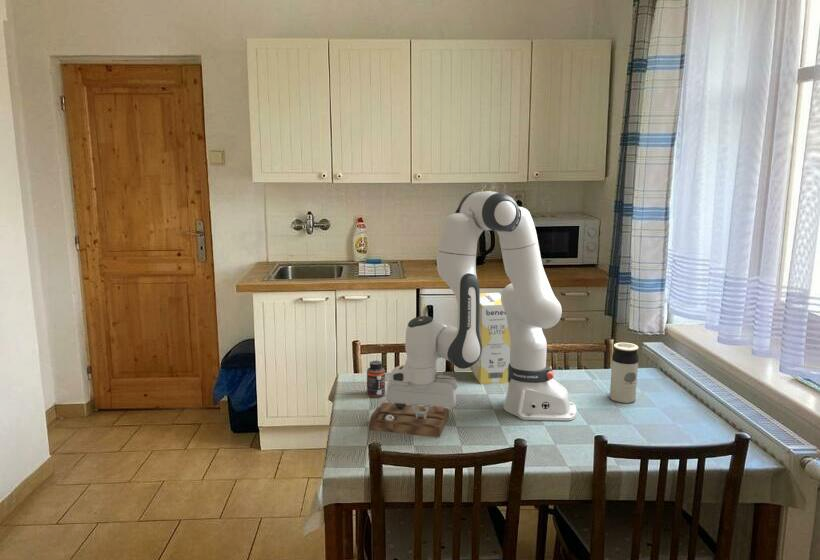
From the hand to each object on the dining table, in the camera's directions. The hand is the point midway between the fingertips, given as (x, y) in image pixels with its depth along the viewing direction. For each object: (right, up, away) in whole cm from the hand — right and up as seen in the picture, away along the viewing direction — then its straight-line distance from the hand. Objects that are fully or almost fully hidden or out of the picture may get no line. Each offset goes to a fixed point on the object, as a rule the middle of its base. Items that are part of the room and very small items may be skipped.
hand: (421, 418), depth 190 cm
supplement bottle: (-15, +2, +27) cm, 30 cm away
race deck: (-3, -2, +5) cm, 6 cm away
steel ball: (-10, -3, +3) cm, 10 cm away
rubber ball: (-6, +1, +10) cm, 11 cm away
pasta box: (+25, +6, +46) cm, 52 cm away
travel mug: (+66, +1, +23) cm, 70 cm away
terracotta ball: (+5, 0, +6) cm, 8 cm away
